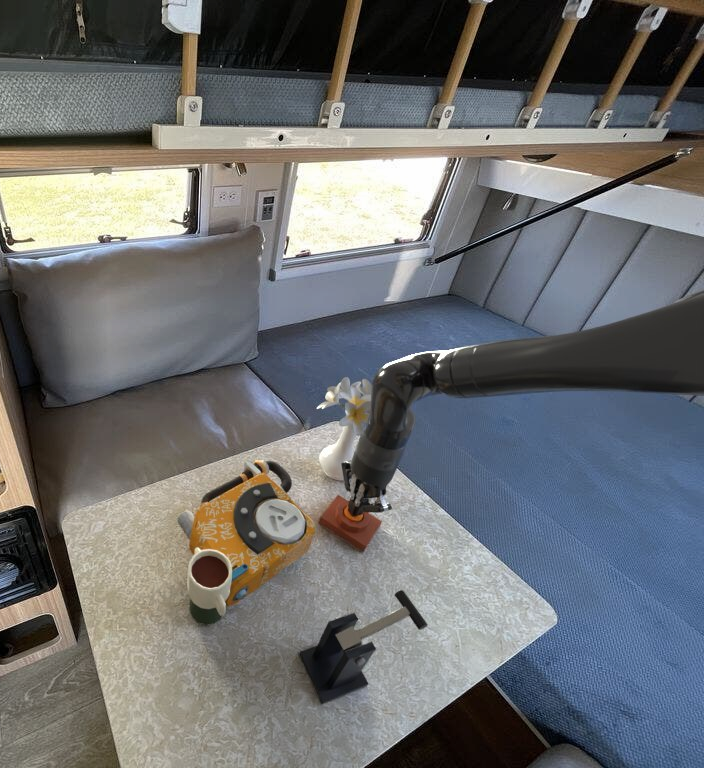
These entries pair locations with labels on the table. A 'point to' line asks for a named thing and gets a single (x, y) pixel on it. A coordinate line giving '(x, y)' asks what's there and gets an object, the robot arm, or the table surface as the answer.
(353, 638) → the lever
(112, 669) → the table surface
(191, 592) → the character mug
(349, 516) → the button
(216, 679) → the table surface
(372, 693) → the table surface
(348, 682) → the bracket
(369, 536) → the block
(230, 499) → the device
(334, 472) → the flower vase
